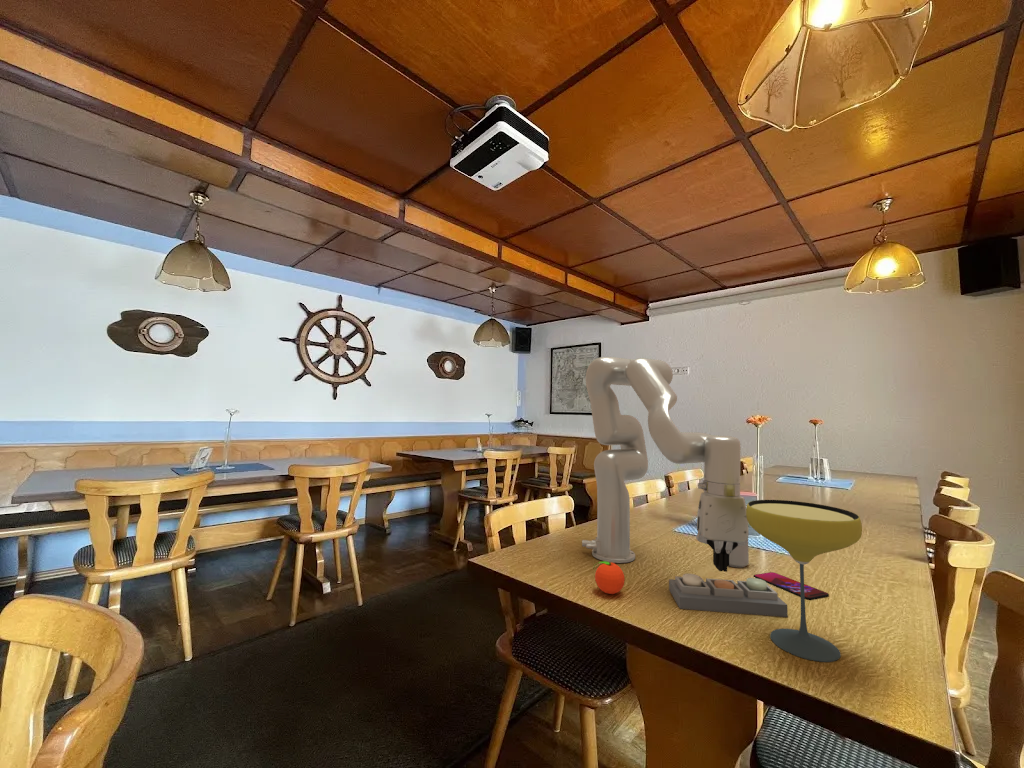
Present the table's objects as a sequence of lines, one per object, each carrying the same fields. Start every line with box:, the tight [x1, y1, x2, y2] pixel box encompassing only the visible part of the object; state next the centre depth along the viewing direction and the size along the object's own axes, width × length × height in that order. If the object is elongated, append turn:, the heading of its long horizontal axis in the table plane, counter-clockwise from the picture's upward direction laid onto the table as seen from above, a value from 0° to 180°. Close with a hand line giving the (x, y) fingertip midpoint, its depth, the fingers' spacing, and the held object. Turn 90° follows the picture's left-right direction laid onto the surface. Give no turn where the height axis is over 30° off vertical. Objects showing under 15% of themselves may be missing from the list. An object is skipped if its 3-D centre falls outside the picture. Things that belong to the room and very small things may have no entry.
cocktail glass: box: [746, 499, 863, 663], centre depth 79 cm, size 18×18×25 cm
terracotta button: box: [714, 579, 734, 589], centre depth 96 cm, size 4×4×2 cm
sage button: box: [746, 577, 768, 592], centre depth 95 cm, size 4×4×2 cm
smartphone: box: [753, 571, 830, 601], centre depth 105 cm, size 8×1×15 cm
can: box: [719, 539, 750, 568], centre depth 121 cm, size 8×8×12 cm
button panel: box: [668, 575, 789, 618], centre depth 95 cm, size 22×10×4 cm, turn 82°
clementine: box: [593, 561, 626, 595], centre depth 100 cm, size 8×7×7 cm
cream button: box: [682, 573, 702, 587], centre depth 97 cm, size 4×4×2 cm
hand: (721, 569), depth 96 cm, fingers closed
